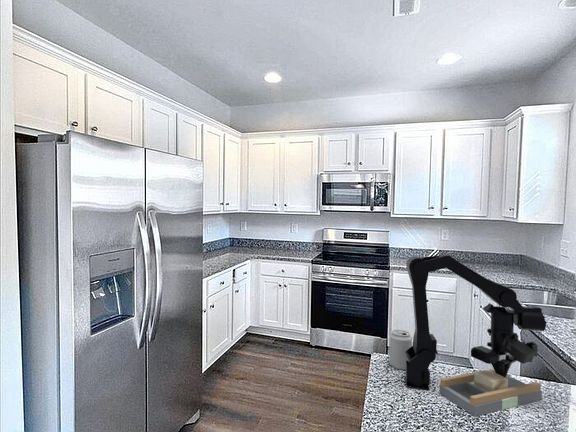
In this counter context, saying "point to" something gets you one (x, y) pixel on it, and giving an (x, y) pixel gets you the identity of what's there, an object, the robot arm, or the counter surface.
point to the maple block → (490, 381)
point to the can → (399, 348)
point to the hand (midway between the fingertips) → (501, 380)
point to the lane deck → (487, 394)
